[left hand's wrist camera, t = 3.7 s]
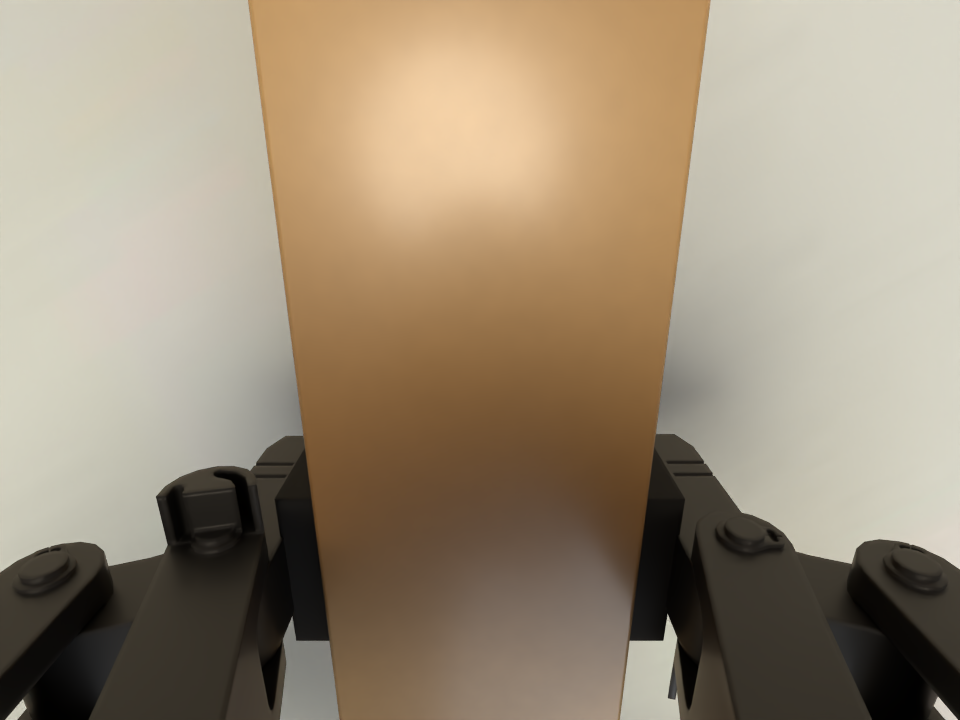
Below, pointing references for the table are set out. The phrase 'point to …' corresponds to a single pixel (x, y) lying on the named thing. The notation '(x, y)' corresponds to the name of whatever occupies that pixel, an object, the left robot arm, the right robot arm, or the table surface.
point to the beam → (479, 330)
